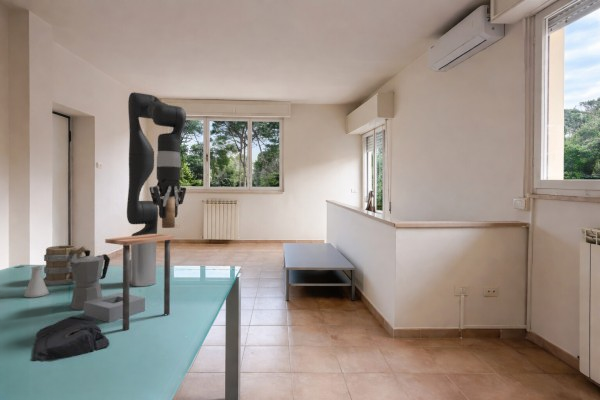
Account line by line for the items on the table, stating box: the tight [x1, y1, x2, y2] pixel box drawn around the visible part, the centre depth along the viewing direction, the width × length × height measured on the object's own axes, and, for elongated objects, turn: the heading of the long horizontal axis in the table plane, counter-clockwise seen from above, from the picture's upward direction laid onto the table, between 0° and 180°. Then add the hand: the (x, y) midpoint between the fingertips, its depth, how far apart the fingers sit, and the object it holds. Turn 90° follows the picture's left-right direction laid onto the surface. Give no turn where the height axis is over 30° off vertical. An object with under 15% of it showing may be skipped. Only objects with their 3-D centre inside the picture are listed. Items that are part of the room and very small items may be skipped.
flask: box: [23, 265, 50, 298], centre depth 130 cm, size 7×7×10 cm
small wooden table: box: [104, 233, 175, 331], centre depth 107 cm, size 9×16×24 cm, turn 152°
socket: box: [83, 292, 146, 323], centre depth 113 cm, size 12×12×4 cm
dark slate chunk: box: [32, 316, 110, 363], centre depth 92 cm, size 15×22×5 cm
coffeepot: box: [68, 249, 111, 311], centre depth 120 cm, size 15×9×18 cm, turn 162°
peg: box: [161, 197, 176, 229], centre depth 123 cm, size 4×4×10 cm
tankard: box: [43, 244, 89, 286], centre depth 148 cm, size 20×13×15 cm, turn 68°
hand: (168, 217), depth 123 cm, fingers closed on peg, 4 cm apart
